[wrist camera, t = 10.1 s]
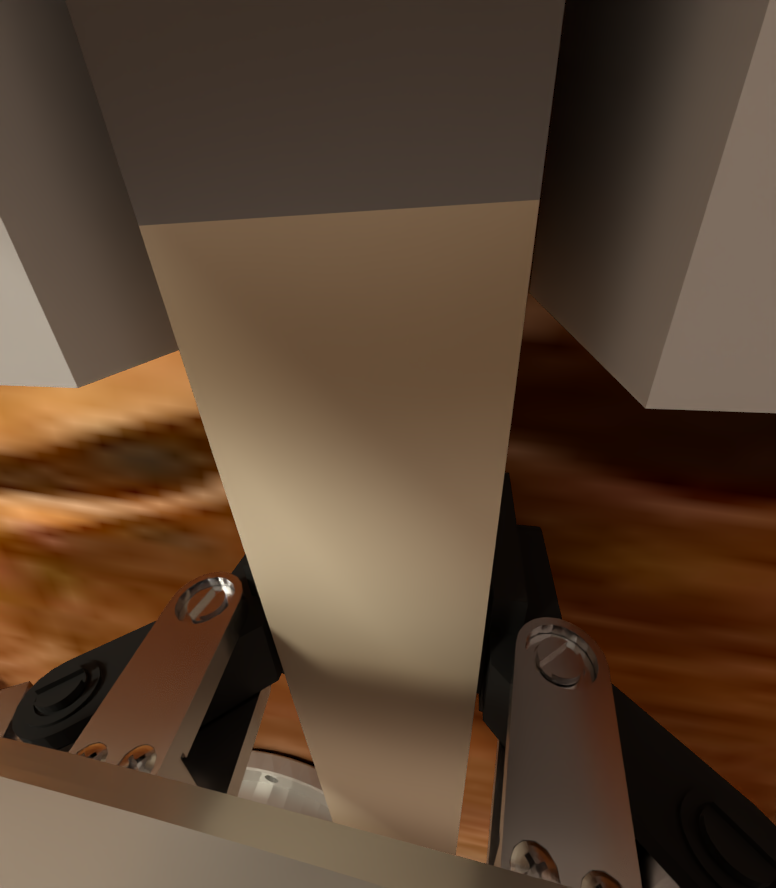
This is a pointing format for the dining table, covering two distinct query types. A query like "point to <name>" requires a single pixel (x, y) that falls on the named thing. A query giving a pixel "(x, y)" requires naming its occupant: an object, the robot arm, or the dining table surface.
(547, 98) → the rail
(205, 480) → the dining table surface
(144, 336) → the post
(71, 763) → the robot arm
